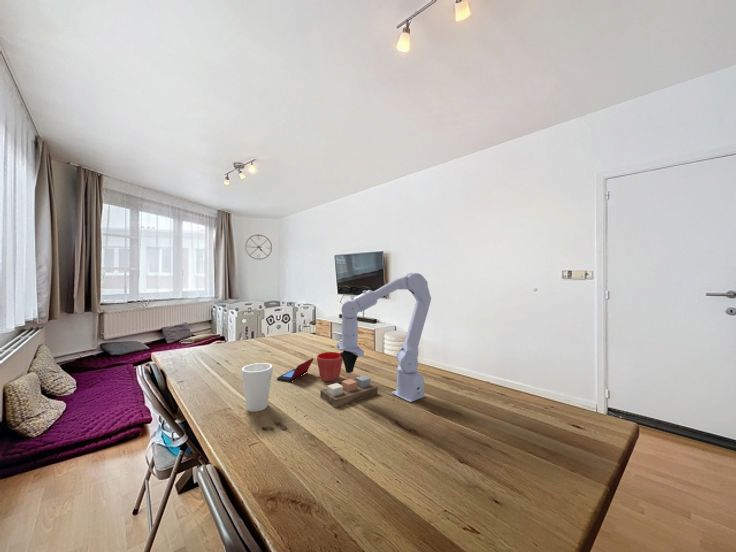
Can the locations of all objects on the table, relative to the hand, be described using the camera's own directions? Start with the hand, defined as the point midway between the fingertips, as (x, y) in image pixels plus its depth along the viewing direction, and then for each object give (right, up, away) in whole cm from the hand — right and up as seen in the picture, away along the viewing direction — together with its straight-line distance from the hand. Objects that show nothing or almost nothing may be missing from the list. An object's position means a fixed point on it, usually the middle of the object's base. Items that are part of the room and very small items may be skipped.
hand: (349, 372), depth 102 cm
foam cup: (-30, -9, -9) cm, 32 cm away
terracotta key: (0, -6, 0) cm, 6 cm away
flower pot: (-9, -9, +17) cm, 21 cm away
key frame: (0, -8, 0) cm, 8 cm away
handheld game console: (-24, -9, +18) cm, 32 cm away
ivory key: (-5, -7, -4) cm, 9 cm away
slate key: (+5, -7, +4) cm, 9 cm away
